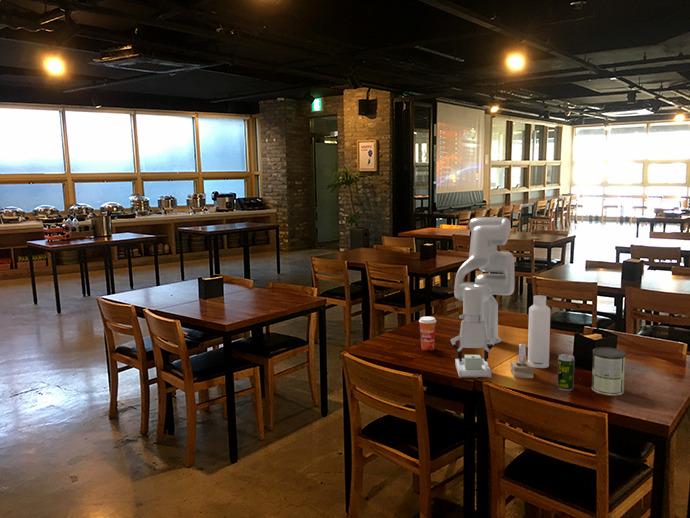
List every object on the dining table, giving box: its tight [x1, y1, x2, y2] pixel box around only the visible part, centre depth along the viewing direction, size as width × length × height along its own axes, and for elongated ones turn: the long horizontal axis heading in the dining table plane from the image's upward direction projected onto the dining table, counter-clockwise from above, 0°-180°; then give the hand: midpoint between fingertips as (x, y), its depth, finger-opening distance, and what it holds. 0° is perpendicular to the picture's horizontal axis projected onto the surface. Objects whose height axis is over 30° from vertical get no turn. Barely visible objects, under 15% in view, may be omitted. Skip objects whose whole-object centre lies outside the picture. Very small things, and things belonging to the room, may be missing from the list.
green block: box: [463, 354, 483, 370], centre depth 215 cm, size 6×6×5 cm
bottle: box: [527, 294, 551, 369], centre depth 219 cm, size 8×8×28 cm
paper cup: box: [418, 316, 437, 352], centre depth 245 cm, size 8×8×14 cm
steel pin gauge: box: [518, 343, 527, 366], centre depth 209 cm, size 2×2×12 cm
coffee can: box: [591, 346, 627, 397], centre depth 191 cm, size 10×10×14 cm
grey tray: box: [454, 358, 492, 379], centre depth 215 cm, size 15×12×2 cm
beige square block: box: [510, 361, 535, 379], centre depth 209 cm, size 7×7×4 cm
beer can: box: [556, 353, 575, 392], centre depth 194 cm, size 5×5×12 cm
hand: (472, 360), depth 215 cm, fingers open, 9 cm apart
